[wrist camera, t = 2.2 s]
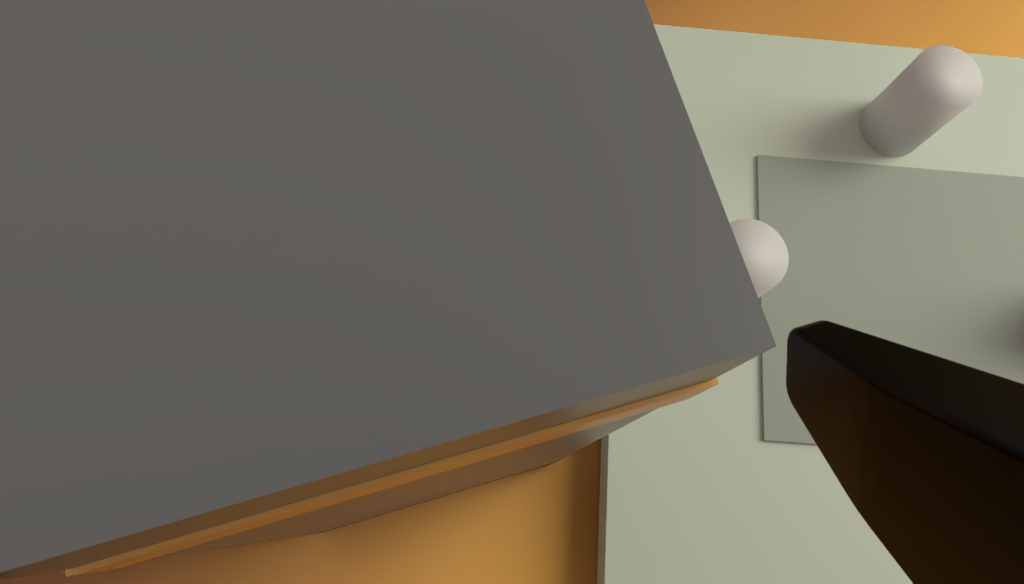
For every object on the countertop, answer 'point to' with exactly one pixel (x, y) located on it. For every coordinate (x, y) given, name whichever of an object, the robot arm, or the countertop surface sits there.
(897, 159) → the board
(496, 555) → the countertop surface
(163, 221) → the plug block
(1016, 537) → the robot arm
